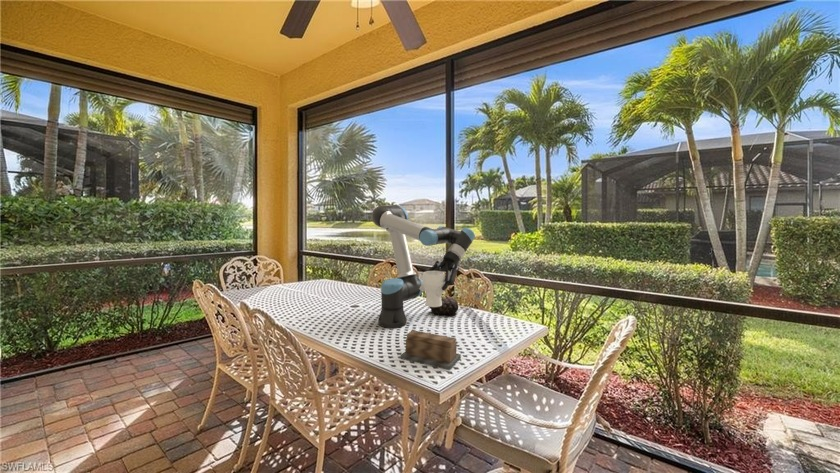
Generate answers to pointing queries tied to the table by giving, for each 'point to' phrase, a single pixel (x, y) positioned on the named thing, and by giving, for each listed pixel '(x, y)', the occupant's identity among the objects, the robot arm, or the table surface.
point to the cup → (433, 287)
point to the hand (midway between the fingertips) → (429, 292)
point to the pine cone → (446, 307)
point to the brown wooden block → (431, 349)
